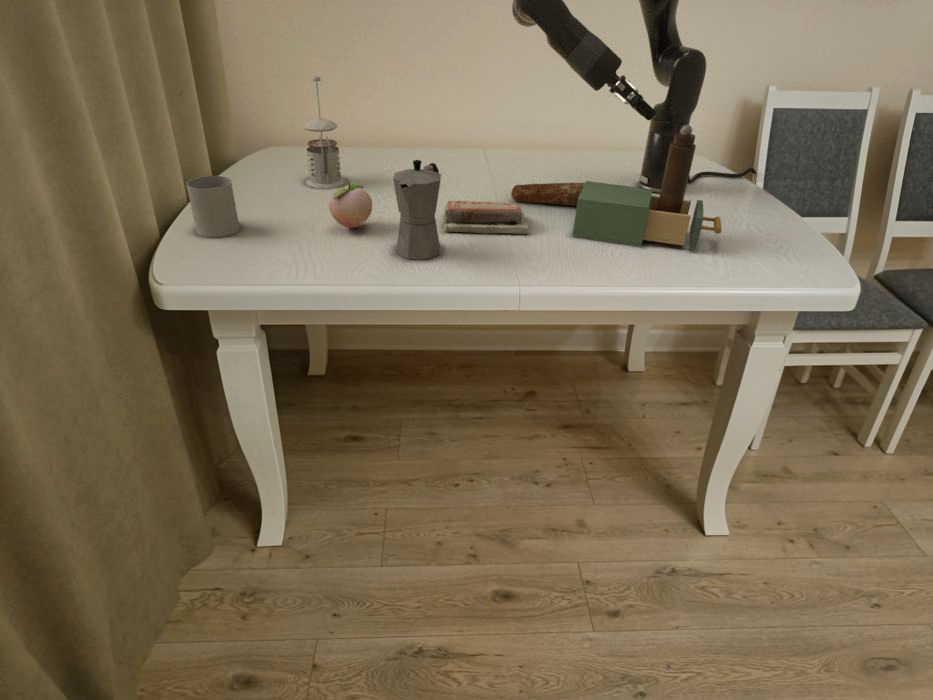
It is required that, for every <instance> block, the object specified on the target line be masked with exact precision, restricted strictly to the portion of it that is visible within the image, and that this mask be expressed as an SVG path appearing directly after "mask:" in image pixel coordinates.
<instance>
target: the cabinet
mask: <svg viewBox="0 0 933 700" xmlns="http://www.w3.org/2000/svg"><path fill="white" fill-rule="evenodd" d="M584 183H585V185H584V187H583V189H582V191H581V193H580V195H579V197H578V201H577V206H576V208H575V215H574V224H573V231H572V237H573V238H580V239H587V240H593V241H600V242H607V243H613V244H621V245H626V246H634V247H640V248H641V247H642V245H643V242H644V240H643V236H644V231H645V226H646V221H647V216H648V211H649V206H650V200H651V195H652V193H653V192H652V189H647V188H640V187H639V186H638V187H637V186H630V185H623V184H614V183H606V182H600V181H599V182H598V181H589V180H586V181H585V182H584ZM652 196H653V195H652Z"/></svg>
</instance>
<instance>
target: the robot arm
mask: <svg viewBox="0 0 933 700" xmlns="http://www.w3.org/2000/svg"><path fill="white" fill-rule="evenodd" d="M679 2H680V0H638V3H639V6H640V11H641V14H642V15H641V16H642V18H643V22H644V23H643V24H644V26H645V29H646V33H647V39H648V44H649V51H650V58H651V64H652V70H653V74H654V77H655V79H656V81H657V82H658V84H660V85H662V86H663V87H666V88H668V90H667V93H666V97H665V99H664V100H663V101H662V102H658V103H656V104H655V105H654V106H653V107H652V106H651V105H650V104H649V103H648V102H647V101H646V100H645V98H644V96H643V95H642V94H640V93H639V90H638V89H637V88H636V86H635V85H633V84H632V83H631V81H630V80H629V78H627V76H625V75H623V74H621V76H619V75H618V74H617V71H618V70H619V68H620V67H621V65H622V63H623V60H622V58H621V57H619V56H618V54H616V53H615V51H613V50H612V49H611V48H610V47H609V46H608V45H607V44H606V43H605V42H604V41H602V39H601V38H600V37H598V36H597V35H596V34H595V33H593V32H592V31H590V30H589V28H587V27H586V26H585V25H584V24H583V23H582V22H581V21H580V20H579V19H578V18H576V16H574V15H573V13H572V12H571V11H570V9H569V7H568V5H567V4H566V3H565V1H564V0H513V1H512V5H511V6H512V7H511V12H512V16H513V19H514V21H516V22H517V23H518V24H519V25H520V26H522V27H525V28H531V27H534V26H536V25H537V26H538V27H539V28H540V30H541V31H542V32H543V33H544V34H545V37H546V42H547V44H548V45H549V46H550V48H551V49H552V50H553V51H554V52H555V53H556V54H557V55H559V57H561V59H563V61H565V63H567V65H568V66H569V67H570V69H571V70H572V71H574V73H576V74H577V75H578V76H579V77H580V79H582V80H583V81H584V82H585V83H586V84H587V85H588V86H590V88H592V89H593V91H596V92H598V91H600V90H601V89H602V88H603V87H604V86H605V85H606V86H607V87H609V88H610V89H609V90H608V91H609V93H610V94H611V95H612V96H614V97H615V98H618V100H620V101H621V102H623V103H624V104H625V105H628V106H630V107H631V108H632V109H633V110H635V112H636V113H638V114H639V115H640V116H641V117H643V118H644V119H645V120H646V121H650V123H649V128H648V133H647V138H646V143H645V149H644V155H643V159H642V160H643V161H642V165H641V171H640V174H639V177H638V184H637V186H638V187H639V188H647V189H652V193H655V194H656V193H658V194H660V192H661V187H662V182H663V178H664V173H665V168H666V163H667V159H668V154H669V149H670V144H671V142H674V138H675V134H676V133H680V130H681V128H682V127H683V126H684V125H690V123H691V119H692V116H693V113H694V111H695V110H696V108H697V106H698V103H699V100H700V95H701V94H702V93H701V92H702V89H703V85H704V81H705V78H706V73H707V58H706V56H705V54H704V52H702V51H701V50H699V49H697V48H693V47H688V46H685V45H683V43H682V40H681V37H680V34H679V30H678V25H677V11H678V7H679ZM750 173H751V174H753V175H754V174H755V175H756V174H757V172H756V169H755V168H753V167H748V168H747V169H745V170H744V171H743V172H740V173H730V172H729V173H728V172H719V171H700V172H698V173H696V174H694V176H692V178H690V177H691V176H690V175H689V178H688V182H687V184H688V183H689V184H692V183H694V182H695V181H696V180H697V179H698V178H699V177H702V176H714V177H721V178H722V177H724V178H741V177H744V176H746V175H748V174H750Z"/></svg>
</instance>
